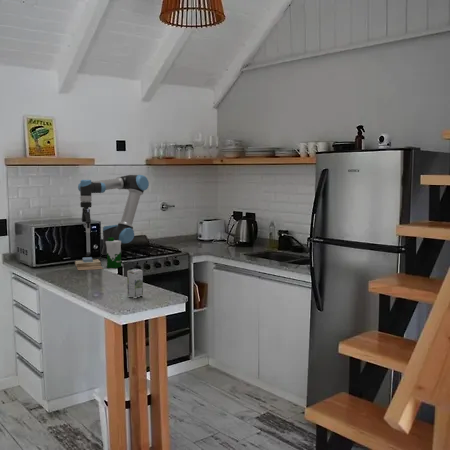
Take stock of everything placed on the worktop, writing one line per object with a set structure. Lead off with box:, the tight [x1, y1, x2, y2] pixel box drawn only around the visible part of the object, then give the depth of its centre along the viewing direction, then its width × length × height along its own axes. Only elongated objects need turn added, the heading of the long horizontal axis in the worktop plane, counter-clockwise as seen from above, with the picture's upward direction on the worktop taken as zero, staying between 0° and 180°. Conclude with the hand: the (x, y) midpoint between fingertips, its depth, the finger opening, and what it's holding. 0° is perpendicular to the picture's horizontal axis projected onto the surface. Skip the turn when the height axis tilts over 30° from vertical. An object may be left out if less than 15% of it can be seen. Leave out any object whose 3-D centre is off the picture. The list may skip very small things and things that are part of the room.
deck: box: [74, 258, 102, 268], centre depth 374 cm, size 12×16×3 cm
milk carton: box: [106, 238, 122, 269], centre depth 367 cm, size 9×9×20 cm
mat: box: [76, 265, 104, 272], centre depth 364 cm, size 10×16×1 cm, turn 110°
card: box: [82, 256, 94, 263], centre depth 375 cm, size 9×6×2 cm, turn 20°
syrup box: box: [126, 268, 144, 297], centre depth 283 cm, size 6×6×14 cm
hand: (86, 232), depth 382 cm, fingers open, 13 cm apart
